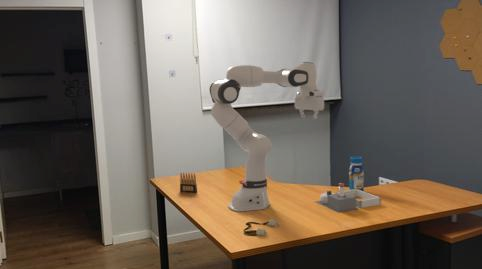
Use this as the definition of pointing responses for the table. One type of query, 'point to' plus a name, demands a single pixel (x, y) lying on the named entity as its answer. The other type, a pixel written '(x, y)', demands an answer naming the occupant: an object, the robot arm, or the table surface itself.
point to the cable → (261, 231)
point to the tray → (369, 198)
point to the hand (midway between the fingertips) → (309, 118)
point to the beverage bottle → (356, 174)
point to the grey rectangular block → (338, 202)
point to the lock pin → (341, 189)
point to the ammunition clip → (188, 183)
